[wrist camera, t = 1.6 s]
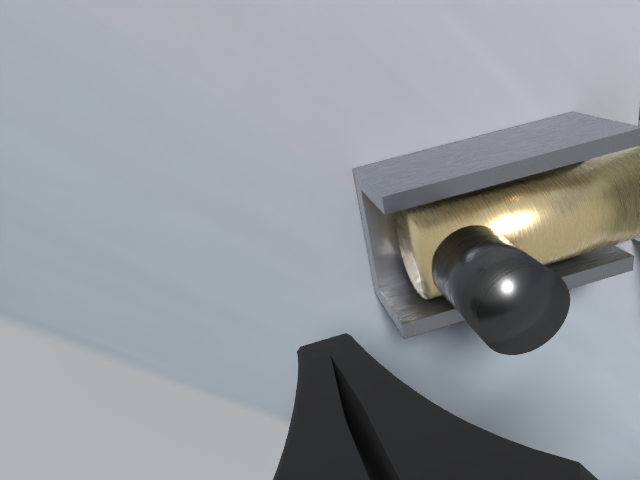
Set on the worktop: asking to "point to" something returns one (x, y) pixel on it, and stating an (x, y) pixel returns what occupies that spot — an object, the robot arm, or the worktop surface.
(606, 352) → the worktop surface
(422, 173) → the grey u channel
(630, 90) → the worktop surface
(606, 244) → the sliding bolt
